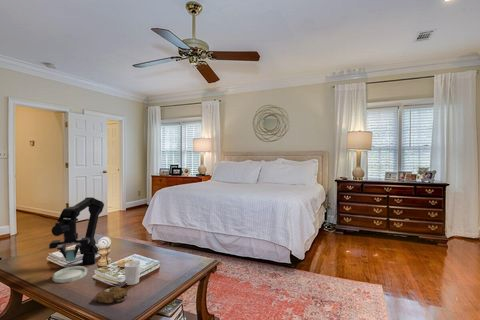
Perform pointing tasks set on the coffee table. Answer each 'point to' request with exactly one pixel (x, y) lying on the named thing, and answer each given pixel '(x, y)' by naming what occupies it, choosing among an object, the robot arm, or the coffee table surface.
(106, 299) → the decorative rock
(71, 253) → the bead
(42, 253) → the coffee table surface
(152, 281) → the coffee table surface
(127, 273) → the white cup
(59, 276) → the ceramic dish
